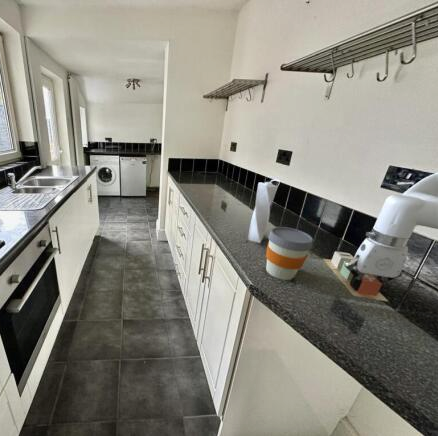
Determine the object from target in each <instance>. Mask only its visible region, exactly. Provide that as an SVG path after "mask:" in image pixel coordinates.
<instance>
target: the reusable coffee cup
mask: <svg viewBox="0 0 438 436" xmlns="http://www.w3.org/2000/svg"><path fill="white" fill-rule="evenodd" d="M313 241H314V239H313V237H312V236H311V235H310V234H309V233H307V232H304V231H302V230H300V229H297V228H292V227H288V226H287V227H286V226H276V227H273V228H271V229H270V232H269V234H268V243H267V244H266V245H267V246H266V254H265V257H266V267H265V270H266V272H267V273H268V274H269V275H270V276H272V277H273V278H276V279H279V280H283V281H292V280H293V279H294V278H295V277H296V275H297V273H298V272H299V270H300V269H301V268H302V267H303V265H304V263H305V261H306V259H307V257H308V256H309V255H308V252H309V251H311V249H312V246H313Z"/></svg>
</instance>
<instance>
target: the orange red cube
mask: <svg viewBox="0 0 438 436" xmlns="http://www.w3.org/2000/svg"><path fill="white" fill-rule="evenodd" d="M358 274H359V273H358ZM361 280H362V282H361V284H360V287H359V289H358V290H357V292H358V293H360V294H366V295H372V296H376V295H377V293H378V291H379V289H380V287H381V286H382V283H381V282H380V281H378V280H377V279H376V276H375V275H370V274H365V275H364V276H363V277H362V278H361ZM382 287H383V286H382ZM382 287H381V288H382ZM380 290H381V289H380ZM379 292H380V291H379Z"/></svg>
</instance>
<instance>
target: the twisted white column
mask: <svg viewBox="0 0 438 436" xmlns="http://www.w3.org/2000/svg"><path fill="white" fill-rule="evenodd" d="M274 181H275V182H278V183H277V185H275V184H273V182H274ZM280 183H281V181H280V180H279V179H275V178H274V179H271V180H270V181H265V182H258V184H257V190H256V195H255V205H254V208H253V212H252V216H251V219H250V224H249V229H248V230H249V231H248V235H247V241H251V242H255V243H257V244H258V243H259V244H261V243H262V240H263V239H264V237H265V234H266V230H267V228H268V225H269V219H270V215H271V214H270V212H271V206H272V204H273V202H274V199H275V197H276V194H277V190H278V188H279V185H280Z"/></svg>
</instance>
